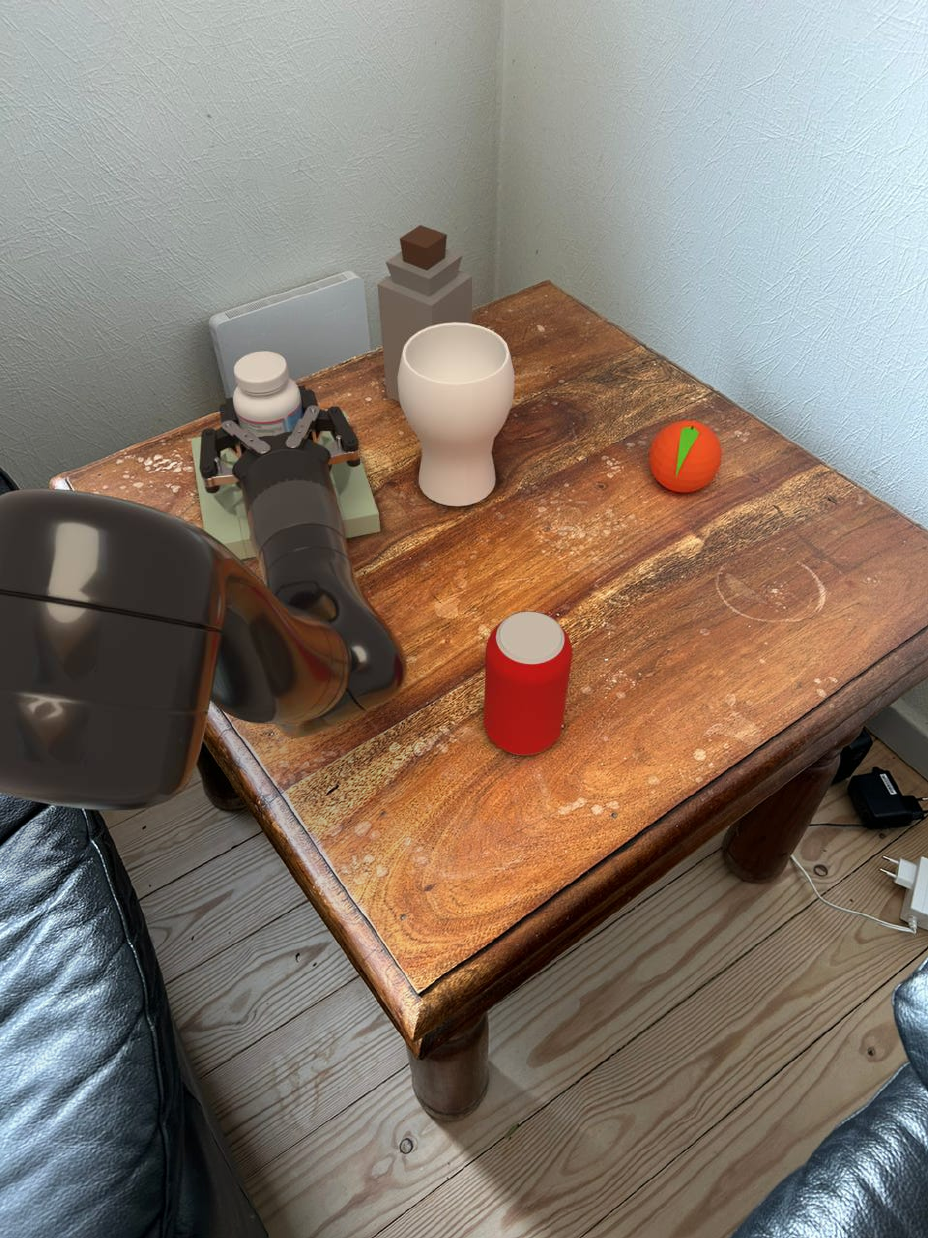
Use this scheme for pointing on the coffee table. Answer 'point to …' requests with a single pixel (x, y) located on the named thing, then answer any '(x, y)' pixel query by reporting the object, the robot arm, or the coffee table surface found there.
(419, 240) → the perfume bottle
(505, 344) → the cup
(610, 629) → the coffee table surface
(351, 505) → the hole plate
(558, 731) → the beverage can
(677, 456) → the clementine
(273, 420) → the pill bottle
